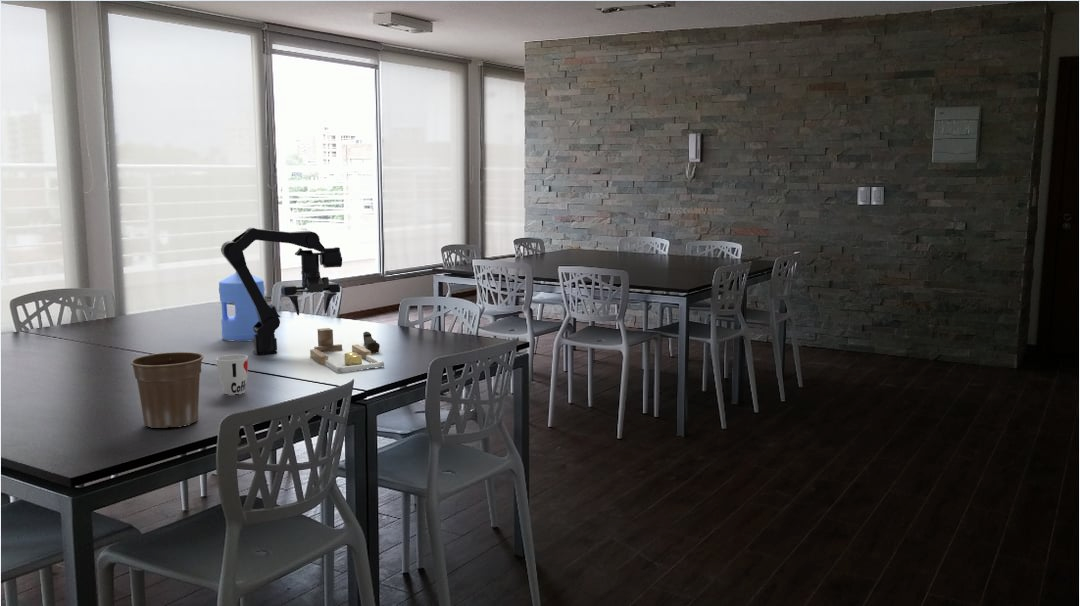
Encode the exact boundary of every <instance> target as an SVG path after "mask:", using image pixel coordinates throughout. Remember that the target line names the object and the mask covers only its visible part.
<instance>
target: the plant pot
mask: <svg viewBox="0 0 1080 606" xmlns="http://www.w3.org/2000/svg"><path fill="white" fill-rule="evenodd" d="M203 359H204V355H203V354H201V353H199V352H189V351H188V352H187V351H186V352H184V351H183V352H181V351H180V352H179V351H177V352H176V351H175V352H163V353H162V352H161V353H154V354H153V353H152V354H147V355H142V356H138V357H136V358H133V359H131V360H130V365H131V366H132V368H133V373H134V377H135V379H136V381H137V387H138V392H139V399H140V405H141V406H140V407H141V412H142V417H143V425H144V426H145V427H146V426H148V427H152V428H167V429H168V428H173V427H179V426H184V425H188V424H191V423H194V422H196V421H197V420H198V421H199V403H200V402H199V401H200V397H199V396H200V376H201V373H202V362H203V361H202V360H203ZM198 421H197V422H198ZM197 422H196V423H197ZM194 424H195V423H194ZM148 427H147V428H148Z"/></svg>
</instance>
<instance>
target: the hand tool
mask: <svg viewBox="0 0 1080 606" xmlns="http://www.w3.org/2000/svg"><path fill="white" fill-rule="evenodd" d="M362 335H363V336H362V337H363V346H364V347H366V349H368V350H370V351H371V354H377V353H376V352H378V353H379V352H380V347H381V346H380V343H378V342H377V340H374V338H373V337H372V333H371V332H369V331H364V332H363V334H362Z"/></svg>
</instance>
